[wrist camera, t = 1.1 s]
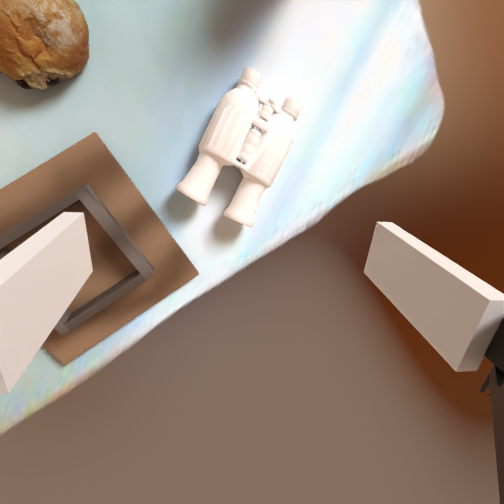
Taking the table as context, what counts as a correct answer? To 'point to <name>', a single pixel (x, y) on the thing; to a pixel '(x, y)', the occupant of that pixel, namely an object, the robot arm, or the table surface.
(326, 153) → the table surface
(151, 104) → the table surface
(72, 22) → the bread roll
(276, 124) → the binoculars
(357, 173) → the table surface
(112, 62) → the table surface
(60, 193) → the holder board
